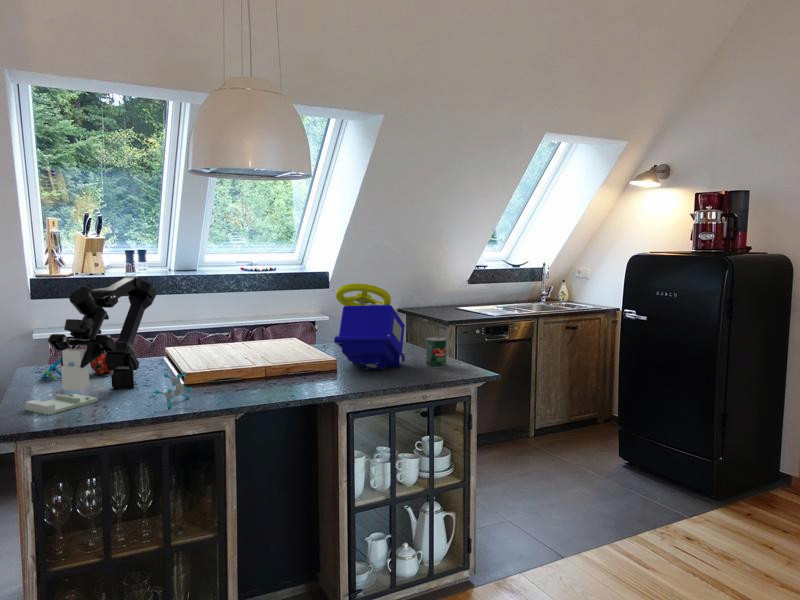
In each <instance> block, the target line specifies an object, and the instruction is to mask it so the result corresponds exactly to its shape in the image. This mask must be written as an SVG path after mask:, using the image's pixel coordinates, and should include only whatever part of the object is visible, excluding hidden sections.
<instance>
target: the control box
mask: <svg viewBox="0 0 800 600" xmlns="http://www.w3.org/2000/svg"><path fill="white" fill-rule="evenodd" d="M351 292H358V293H356V294H355V295H354V296H353V295H352V296H344V295H345V294H346V293H351ZM371 294H373V295H376V296H378V297H380V298H381V299H382V301H379V300H376V299H373V298H372V295H371ZM335 298H336V300H337V302H339V303H340V304H341V305H342V306H343V307H342V312H341V319H340V325H339V332H338V334H336V335H335V336H334V339H333V342H334V344H335V345H336V346H337V347H338V348H340V350H341V352H342V354H343V355H344V356H345V357H346V358H347V361H348V362H350V363H352V364H356V365H357V364H360V365H363V370H370V369H378V370H383V371H384V370H385V371H386V368H387V367H388V368H401V367H402V366H403V362H405V358H406V357H405V354H404V352H403V347H404V345H403V344H404V335H405V327H406V326H405V323H404V322H403V320H402V319H401V317H400V316H399V314H398V313H397V311H396V310H395V309H394V307H393V306H392V305H391V303H392V296H391V295H390V294H389V292H388V291H387V290H384V288H381V287H379V286H376V285H373V284H367V283H360V282H358V283H347V284H344V285H341V286H339V287H338V288H337V290H336V291H335Z"/></svg>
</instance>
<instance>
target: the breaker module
mask: <svg viewBox="0 0 800 600" xmlns="http://www.w3.org/2000/svg"><path fill="white" fill-rule="evenodd" d="M85 352H86V349H84V348H71V349H65V350H62V358H63V366H61V365H60V372H61V374H62V377H61V385H62V390H63V391H64V390H65V391H67V390H68V391H82V390H83V389H86V388H89V387H90V386H91V385H90V384H91V383H90V371H89V369H90V368H89V364H87V365H86V366H85V367H84V368H81V367H80V365H81V362H82V359H83V357H84V355H85Z"/></svg>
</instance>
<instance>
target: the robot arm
mask: <svg viewBox="0 0 800 600" xmlns="http://www.w3.org/2000/svg"><path fill="white" fill-rule="evenodd" d="M126 294H127V297H128V298H127V299H128V301H129V305H130V306H129V308H128V311H127V313H126V316H125V320H124V322H123V325H122V328H121V329H120V332H119V335H118V339H117V340H116V341H115V340H114V339H113V338H112V337H111V335H109V334H102V330H101V327H102V325H103V323H104V322H105V321H106V320H110V319H109V318H110V317H109V315H108V311H107V310H106V309H104V308H113V307H115V306H116V305H117V304H118V303H119V299H120V298H121V297H123V296H125V295H126ZM156 296H157V291H156V289H155V288H154V286H153V285H152V284H150V283H149V282H147V281H145V280H143V279H142V278H141V277H139V276H135V275H132V276H131V275H130V276H129V275H127V276H124V277H123V278H122V279H120V280H118V281H117V282H115V283H112V284H111V285H109V286H108V287H101V288H94V289H92V290H90V288H89V287H88V286H81V287H80V289H77V290H75V291H74V292H72V294H70V295H69V298H68V299H69V302H70V303H71V305H72V306H73V307H74V308H75V309H76V311H78V313H79V314H81V315H82V318H81V319H77V318H76V319H75V318H73V319H71V318H69V319H65V324H64V329H63V331H67V332H70V333H69V335H70V336H71V337H73V338H68V337H67V335H66V334H64V333H52V334H50V335H49V337H48V339H47V342H48V343H49V344H50V345H51V346H52V347H53V348H54V349H55V350H56V351H58V352H60V355H61V356H60V358H61V362H60V367H61V366H63V358H62V350H65V349H73V348H72V347H73V346H77V347H86V349H85V355H84V357H83V359H82V362H81V365H80V367H81V368H84V367H85V366H86V365H87V364H88V365H90V362H91V361H92V360H94V359H95V358H96V357H98V356H99V355H101V354H104V353H106V355H105V362H106V365H107V369H108V371H110V370H113V371H112V373H111V375H110V377H111V387H112V390H113V391H114V390H128V389H129V390H130V389H134V388H135V386H136V382H135V371H137V370H138V369H139V368H140V367H139V366H140V362H139V360H138V358H137V357H136V356H135V354H136V351H135V348H134V346H133V345H134V342H135V339H136V336H137V334H138V330H139V329H140V325H141V322H142V319H143V316H144V313H145V310H147V309H148V308H149V307H151V306H152V305H153V303H154V300H155V298H156ZM104 320H105V321H104Z"/></svg>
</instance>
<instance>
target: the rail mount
mask: <svg viewBox="0 0 800 600" xmlns="http://www.w3.org/2000/svg"><path fill="white" fill-rule="evenodd" d="M98 401H99V400H98V397H94V396H88V395H83V394H77V393H73V394H72V393H71V394H69V395H64V394H54V398H53V399H50V400H46V401H40V400H34V399H32V400H28V401H25V402H24V403H25V407H24V410H25V411H27V410H28V412H32V411H33V412H32V413H37V412H38V414H42V413H43V415H47V414H48V416H51V415H54V413H55V414H57V412H58V413H61V411H62V412H65V411H68V409H69V410H71V409H75V408H79V407H83V406H85V405H89V404H92V403H95V402H96V403H97V402H98ZM50 414H51V415H50Z"/></svg>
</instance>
